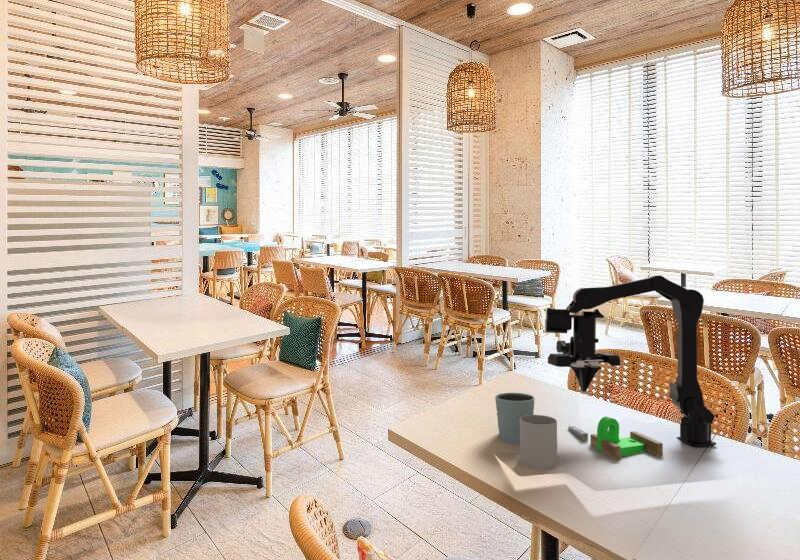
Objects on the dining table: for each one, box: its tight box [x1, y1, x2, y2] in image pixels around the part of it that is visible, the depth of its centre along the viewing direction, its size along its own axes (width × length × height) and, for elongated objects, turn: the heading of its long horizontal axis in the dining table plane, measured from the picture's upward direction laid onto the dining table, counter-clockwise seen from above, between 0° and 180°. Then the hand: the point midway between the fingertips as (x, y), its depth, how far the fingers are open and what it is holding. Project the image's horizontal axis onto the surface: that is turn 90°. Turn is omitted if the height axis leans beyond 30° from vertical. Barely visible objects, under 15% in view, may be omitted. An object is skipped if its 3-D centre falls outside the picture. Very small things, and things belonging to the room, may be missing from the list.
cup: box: [519, 414, 558, 470], centre depth 116 cm, size 8×8×10 cm
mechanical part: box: [595, 416, 645, 457], centre depth 124 cm, size 12×6×8 cm, turn 117°
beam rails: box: [590, 430, 664, 461], centre depth 124 cm, size 13×10×3 cm
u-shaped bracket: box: [567, 425, 589, 442], centre depth 132 cm, size 12×8×3 cm, turn 102°
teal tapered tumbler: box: [494, 392, 535, 446], centre depth 131 cm, size 10×10×12 cm
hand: (583, 391), depth 135 cm, fingers closed
